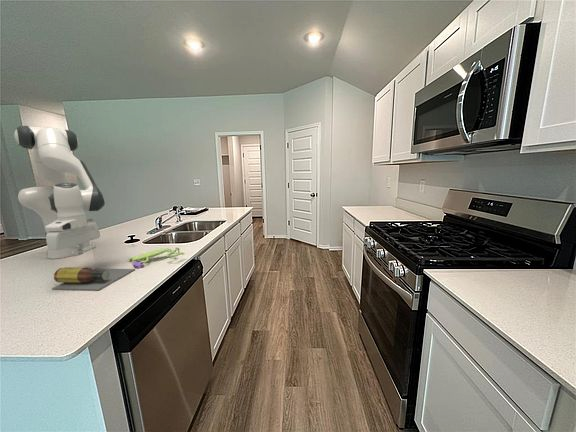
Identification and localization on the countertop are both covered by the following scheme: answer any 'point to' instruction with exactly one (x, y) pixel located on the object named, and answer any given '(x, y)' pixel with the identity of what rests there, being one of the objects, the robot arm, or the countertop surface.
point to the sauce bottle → (79, 275)
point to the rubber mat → (96, 281)
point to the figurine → (152, 254)
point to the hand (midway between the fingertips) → (79, 254)
